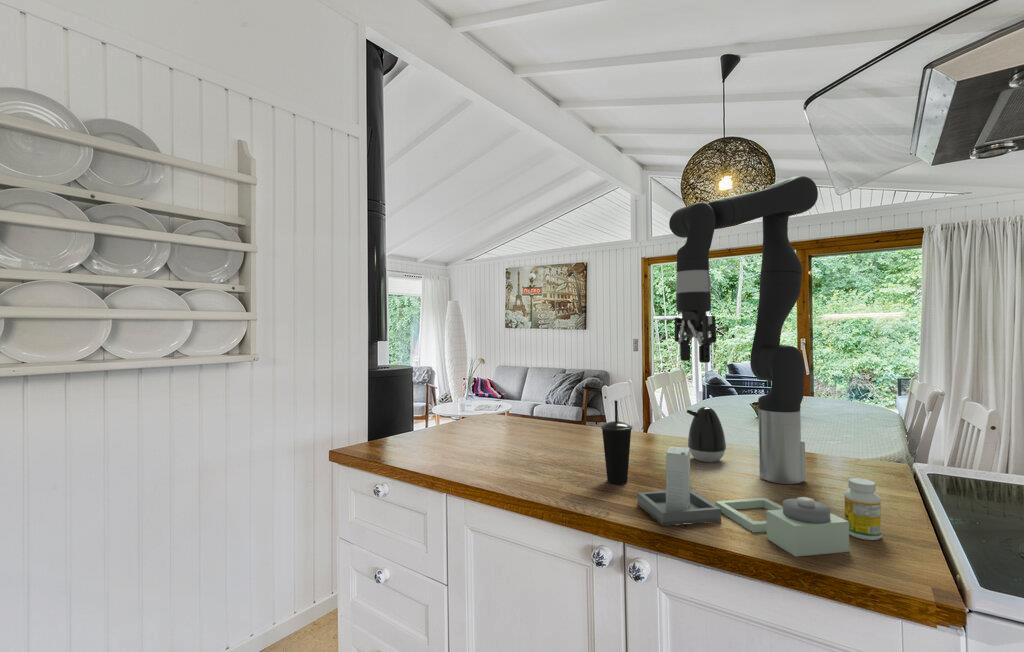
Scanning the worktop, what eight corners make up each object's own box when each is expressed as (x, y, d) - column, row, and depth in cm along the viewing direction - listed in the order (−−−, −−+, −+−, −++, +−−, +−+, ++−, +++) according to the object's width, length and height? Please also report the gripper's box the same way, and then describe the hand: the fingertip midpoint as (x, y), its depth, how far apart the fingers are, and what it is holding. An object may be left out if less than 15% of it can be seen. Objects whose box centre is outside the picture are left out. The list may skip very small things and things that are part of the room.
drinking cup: (627, 488, 116) (625, 403, 116) (597, 483, 120) (595, 401, 120) (637, 479, 122) (636, 399, 122) (608, 475, 126) (607, 398, 126)
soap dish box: (765, 504, 103) (764, 468, 104) (852, 551, 82) (851, 504, 82) (715, 508, 102) (714, 471, 102) (791, 556, 80) (790, 509, 80)
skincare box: (669, 502, 103) (668, 445, 104) (691, 505, 102) (690, 447, 102) (665, 512, 98) (664, 452, 98) (688, 515, 96) (687, 454, 96)
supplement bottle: (880, 543, 84) (879, 488, 84) (843, 535, 88) (842, 482, 88) (882, 533, 88) (881, 480, 88) (846, 526, 92) (845, 475, 92)
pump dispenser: (683, 455, 145) (682, 404, 145) (720, 455, 144) (719, 404, 144) (691, 464, 135) (690, 409, 135) (731, 465, 134) (729, 409, 134)
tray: (689, 500, 107) (689, 489, 107) (721, 521, 95) (721, 508, 95) (637, 504, 105) (637, 492, 105) (663, 526, 93) (663, 513, 93)
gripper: (726, 288, 106) (727, 363, 106) (692, 293, 120) (693, 359, 120) (694, 288, 105) (695, 363, 105) (663, 293, 119) (665, 360, 119)
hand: (694, 361), depth 113 cm, fingers open, 8 cm apart
